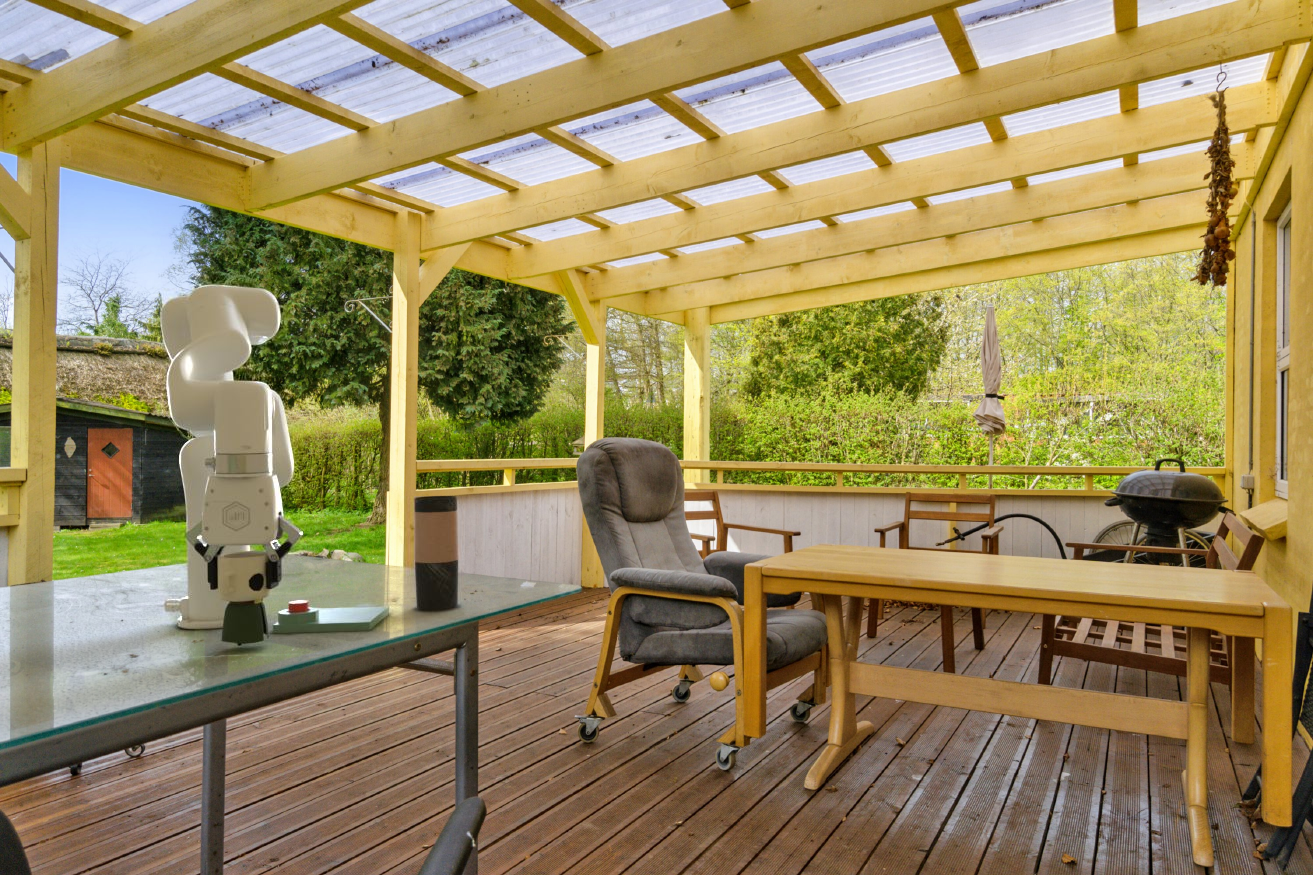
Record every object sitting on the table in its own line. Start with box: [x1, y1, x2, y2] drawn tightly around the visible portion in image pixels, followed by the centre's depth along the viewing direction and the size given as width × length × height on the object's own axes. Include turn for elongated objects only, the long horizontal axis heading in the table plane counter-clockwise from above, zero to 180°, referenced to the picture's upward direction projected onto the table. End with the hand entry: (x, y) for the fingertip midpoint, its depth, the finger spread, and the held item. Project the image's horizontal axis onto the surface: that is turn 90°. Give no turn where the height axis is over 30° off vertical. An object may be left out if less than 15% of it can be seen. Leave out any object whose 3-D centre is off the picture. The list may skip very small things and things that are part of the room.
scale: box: [272, 605, 390, 634], centre depth 143 cm, size 15×13×3 cm
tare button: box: [288, 599, 310, 613], centre depth 139 cm, size 3×3×2 cm
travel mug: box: [413, 495, 459, 612], centre depth 155 cm, size 8×8×20 cm
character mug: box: [218, 550, 273, 647], centre depth 125 cm, size 11×7×13 cm, turn 175°
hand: (245, 586), depth 125 cm, fingers closed on character mug, 7 cm apart
